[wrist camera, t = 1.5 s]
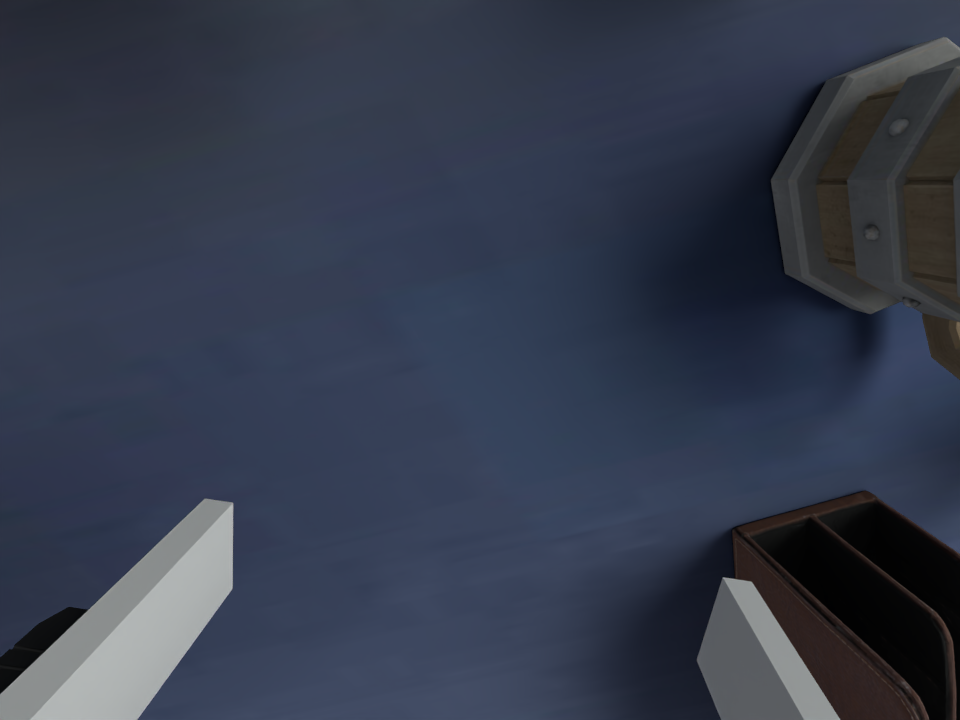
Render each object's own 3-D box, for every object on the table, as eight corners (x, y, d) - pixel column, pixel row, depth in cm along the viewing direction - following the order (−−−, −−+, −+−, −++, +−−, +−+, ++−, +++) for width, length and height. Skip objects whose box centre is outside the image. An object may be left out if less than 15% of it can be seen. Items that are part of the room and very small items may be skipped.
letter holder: (736, 731, 42) (896, 984, 29) (728, 524, 35) (931, 729, 22) (852, 695, 43) (1059, 924, 30) (865, 486, 36) (1140, 661, 23)
